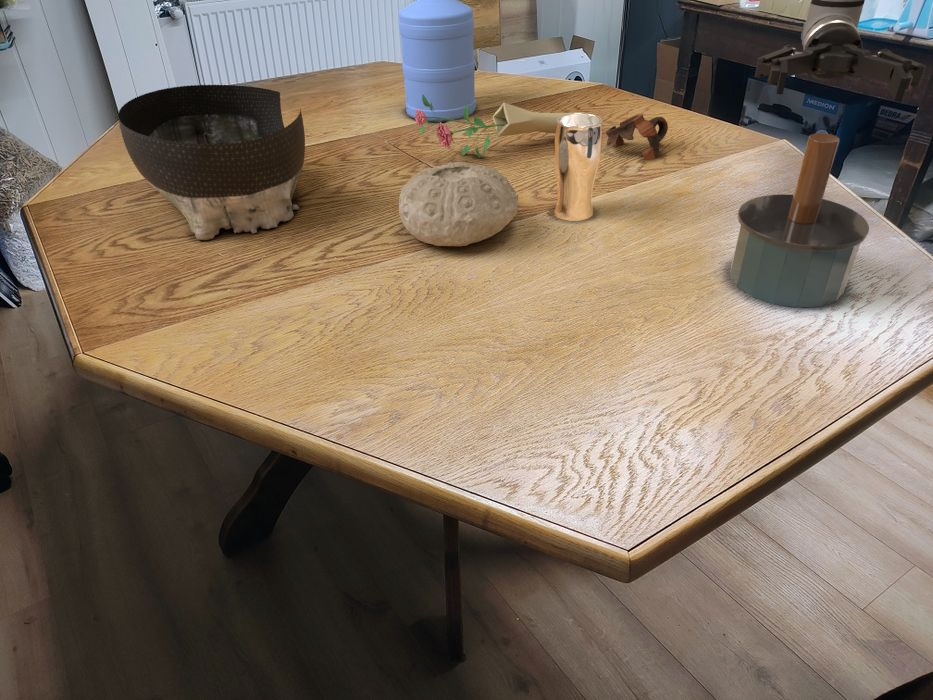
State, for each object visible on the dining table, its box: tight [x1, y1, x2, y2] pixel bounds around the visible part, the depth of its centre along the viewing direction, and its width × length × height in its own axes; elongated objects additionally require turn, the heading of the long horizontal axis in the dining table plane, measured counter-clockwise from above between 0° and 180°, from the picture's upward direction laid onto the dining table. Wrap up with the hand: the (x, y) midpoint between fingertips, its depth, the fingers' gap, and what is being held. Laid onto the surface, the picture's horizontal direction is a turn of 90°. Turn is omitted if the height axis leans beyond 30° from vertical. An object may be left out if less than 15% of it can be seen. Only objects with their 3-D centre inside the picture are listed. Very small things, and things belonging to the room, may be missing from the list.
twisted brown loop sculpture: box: [605, 113, 669, 162], centre depth 127 cm, size 12×9×8 cm
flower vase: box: [415, 95, 585, 159], centre depth 129 cm, size 12×12×35 cm
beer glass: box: [553, 112, 603, 222], centre depth 103 cm, size 7×7×15 cm
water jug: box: [398, 0, 477, 123], centre depth 145 cm, size 16×16×28 cm
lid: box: [737, 132, 870, 251], centre depth 81 cm, size 15×15×11 cm
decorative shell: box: [398, 161, 519, 247], centre depth 101 cm, size 18×18×10 cm
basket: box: [117, 84, 306, 241], centre depth 112 cm, size 28×35×16 cm
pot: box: [729, 223, 861, 309], centre depth 87 cm, size 14×14×8 cm
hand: (840, 86), depth 86 cm, fingers open, 13 cm apart
